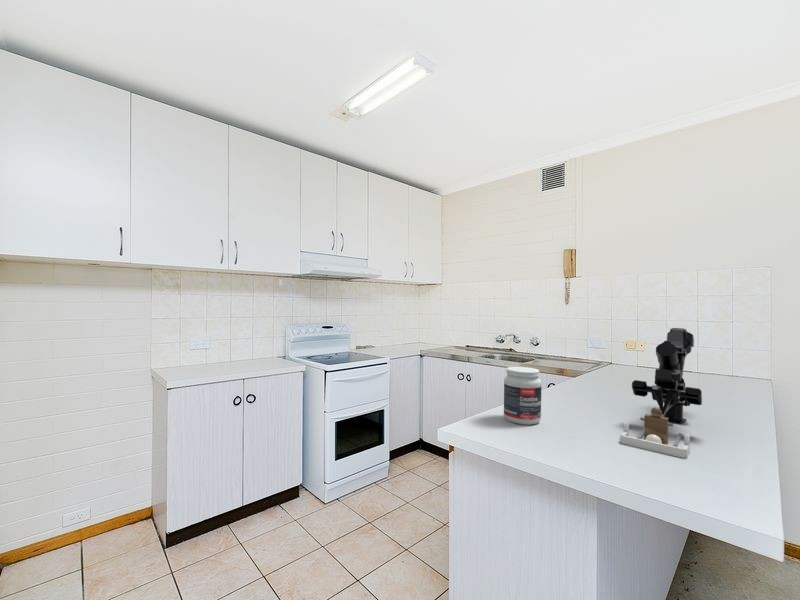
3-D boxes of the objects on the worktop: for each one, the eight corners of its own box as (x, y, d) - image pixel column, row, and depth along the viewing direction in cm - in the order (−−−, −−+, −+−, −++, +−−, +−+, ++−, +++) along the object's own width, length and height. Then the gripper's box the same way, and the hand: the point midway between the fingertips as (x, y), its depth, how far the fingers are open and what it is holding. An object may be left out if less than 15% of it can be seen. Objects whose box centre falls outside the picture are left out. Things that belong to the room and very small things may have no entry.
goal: (624, 438, 118) (624, 421, 118) (689, 452, 107) (690, 435, 107) (619, 443, 113) (619, 426, 113) (687, 459, 102) (687, 441, 102)
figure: (641, 438, 116) (641, 404, 116) (673, 445, 111) (673, 409, 111) (638, 441, 114) (639, 406, 114) (671, 449, 108) (671, 411, 108)
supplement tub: (527, 428, 127) (528, 374, 127) (496, 419, 137) (496, 368, 137) (548, 421, 135) (548, 370, 135) (517, 412, 145) (517, 365, 145)
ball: (645, 436, 109) (645, 449, 109) (662, 439, 107) (662, 452, 107) (645, 430, 112) (645, 443, 113) (661, 433, 110) (661, 445, 110)
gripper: (633, 356, 131) (625, 394, 123) (701, 363, 118) (698, 405, 110) (637, 376, 137) (630, 413, 129) (703, 384, 124) (700, 425, 116)
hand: (662, 413), depth 121 cm, fingers closed
